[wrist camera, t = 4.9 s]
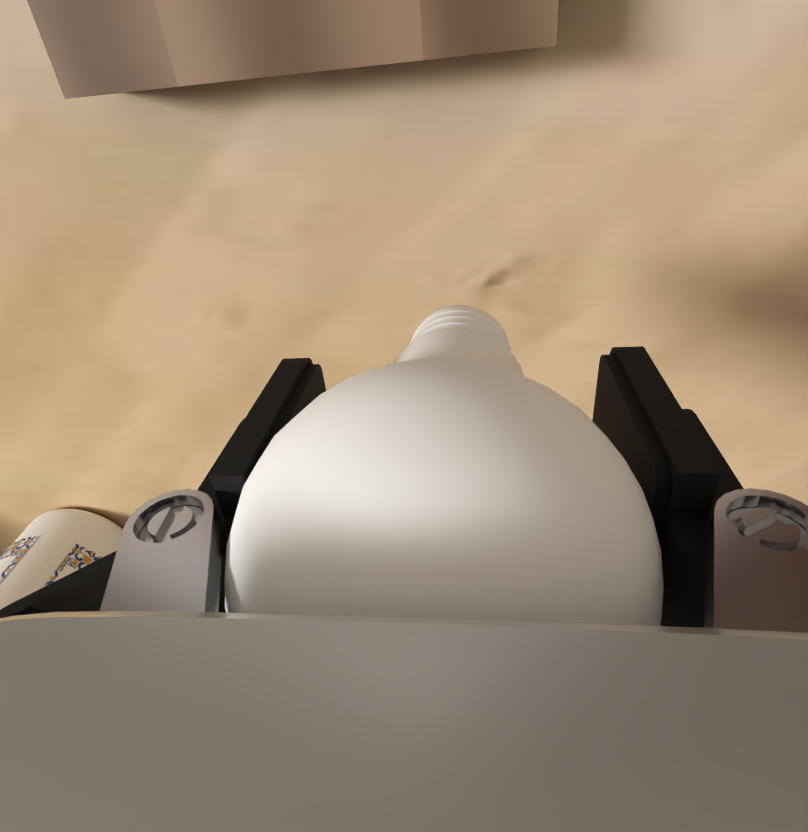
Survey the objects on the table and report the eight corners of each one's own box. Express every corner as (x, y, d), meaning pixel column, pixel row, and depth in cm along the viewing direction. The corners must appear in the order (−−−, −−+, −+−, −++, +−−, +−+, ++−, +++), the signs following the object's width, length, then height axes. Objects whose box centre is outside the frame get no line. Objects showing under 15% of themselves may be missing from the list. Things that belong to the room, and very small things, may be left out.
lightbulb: (622, 267, 13) (922, 735, 4) (522, 454, 17) (563, 936, 7) (382, 187, 13) (121, 495, 4) (331, 394, 16) (129, 819, 7)
